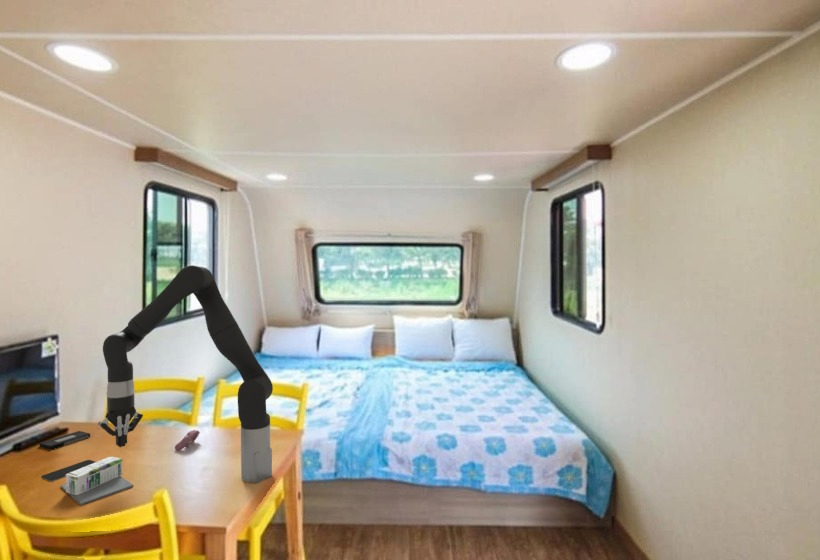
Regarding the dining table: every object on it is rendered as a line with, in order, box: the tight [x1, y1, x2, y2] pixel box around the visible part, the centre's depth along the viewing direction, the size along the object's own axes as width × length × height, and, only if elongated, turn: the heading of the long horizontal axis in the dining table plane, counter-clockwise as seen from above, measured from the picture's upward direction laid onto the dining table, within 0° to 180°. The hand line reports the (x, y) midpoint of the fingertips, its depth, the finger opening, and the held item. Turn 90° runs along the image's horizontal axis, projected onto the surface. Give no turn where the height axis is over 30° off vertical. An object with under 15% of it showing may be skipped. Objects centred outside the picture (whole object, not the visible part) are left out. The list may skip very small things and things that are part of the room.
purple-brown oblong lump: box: [174, 429, 201, 452], centre depth 176 cm, size 10×5×7 cm, turn 179°
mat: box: [60, 475, 134, 506], centre depth 143 cm, size 18×14×1 cm
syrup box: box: [65, 456, 124, 495], centre depth 144 cm, size 6×6×14 cm
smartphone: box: [40, 459, 96, 482], centre depth 155 cm, size 7×1×15 cm
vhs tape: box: [39, 430, 91, 451], centre depth 180 cm, size 8×14×2 cm, turn 156°
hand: (121, 446), depth 148 cm, fingers closed
